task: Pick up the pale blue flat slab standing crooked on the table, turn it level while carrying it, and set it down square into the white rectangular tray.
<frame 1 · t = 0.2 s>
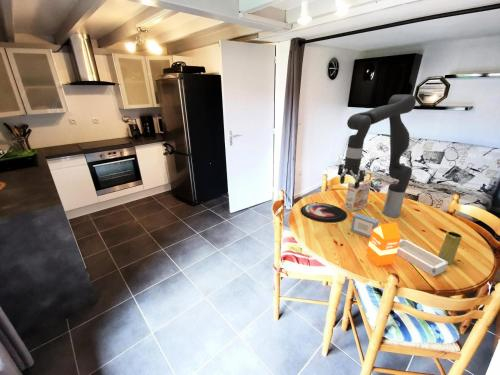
hand: (348, 185, 123), 28 cm above the table, fingers open, 8 cm apart
coffeecake box: (355, 207, 160), on the table
wall clock: (323, 213, 154), on the table
white rectangular tray: (416, 259, 110), on the table
vase: (444, 260, 109), on the table
pale blue flat slab: (362, 233, 131), on the table
orange juice: (379, 259, 110), on the table
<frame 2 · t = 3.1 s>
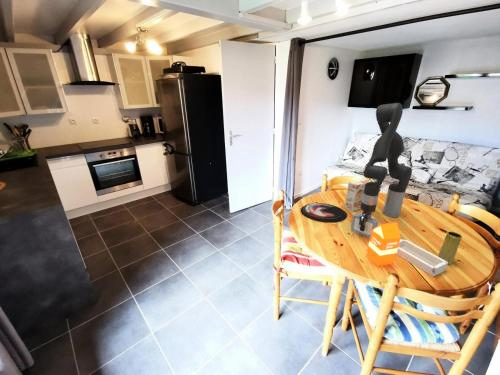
hand: (363, 228, 130), 3 cm above the table, fingers closed on pale blue flat slab, 4 cm apart
pale blue flat slab: (362, 233, 131), on the table, touching gripper
everything else where it was.
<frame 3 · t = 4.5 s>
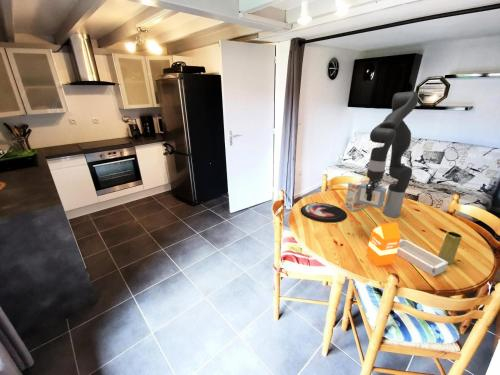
hand: (370, 199, 123), 21 cm above the table, fingers closed on pale blue flat slab, 4 cm apart
pale blue flat slab: (369, 204, 124), point 18 cm above the table, touching gripper
everything else where it was.
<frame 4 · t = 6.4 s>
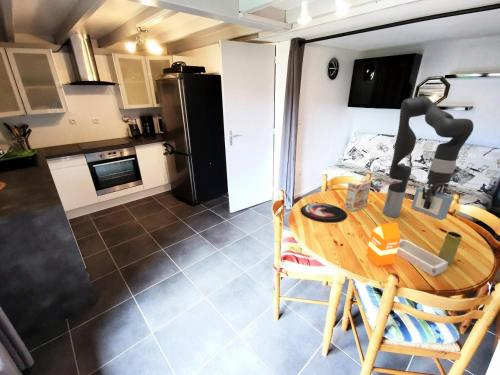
hand: (429, 207, 100), 28 cm above the table, fingers closed on pale blue flat slab, 4 cm apart
pale blue flat slab: (427, 213, 101), point 25 cm above the table, touching gripper
everything else where it was.
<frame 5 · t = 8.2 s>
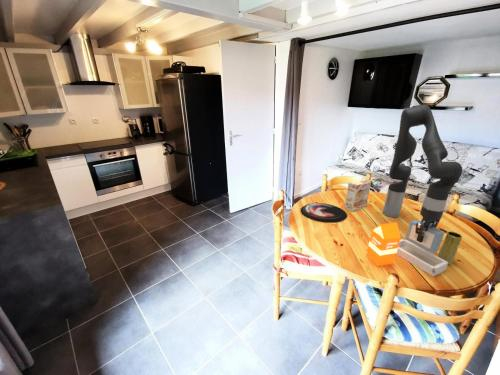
hand: (422, 239, 105), 11 cm above the table, fingers closed on pale blue flat slab, 4 cm apart
pale blue flat slab: (420, 245, 107), point 8 cm above the table, touching gripper
everything else where it was.
when the fingers open (5 cm above the table, at t = 9.8 s): pale blue flat slab stays where it is, resting on white rectangular tray.
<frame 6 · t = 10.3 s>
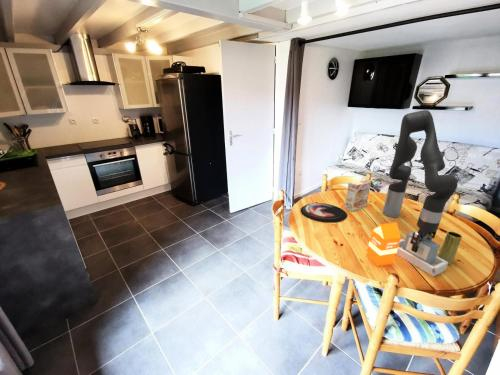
hand: (419, 248, 107), 6 cm above the table, fingers open, 8 cm apart
pale blue flat slab: (417, 256, 109), point 2 cm above the table, touching white rectangular tray
everything else where it was.
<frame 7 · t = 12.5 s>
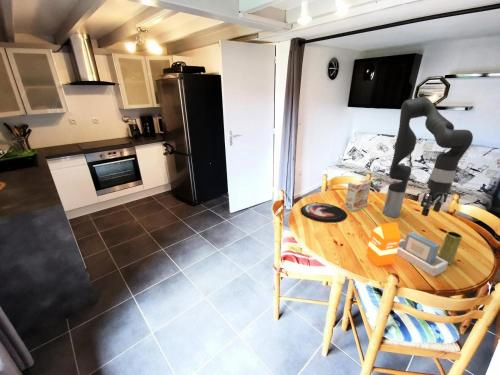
hand: (430, 213, 101), 24 cm above the table, fingers open, 8 cm apart
nothing on the table moved.
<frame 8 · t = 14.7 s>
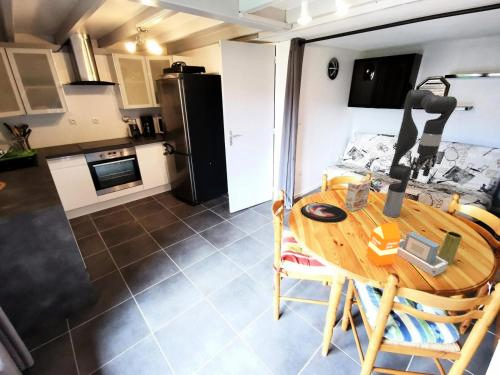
hand: (419, 177, 111), 36 cm above the table, fingers open, 8 cm apart
nothing on the table moved.
at the end: pale blue flat slab inside the target area on the white rectangular tray (0.3 cm from its centre), point 1.6 cm above the white rectangular tray's base; pale blue flat slab tilted 0°; the gripper is holding nothing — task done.
